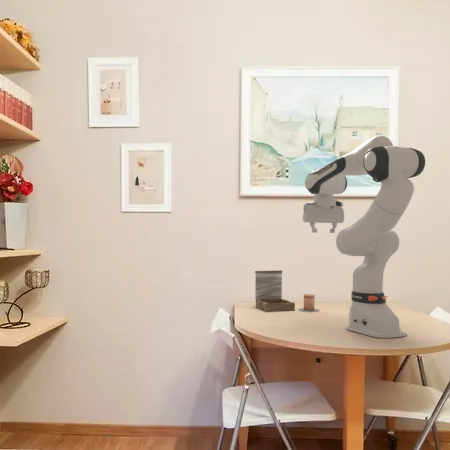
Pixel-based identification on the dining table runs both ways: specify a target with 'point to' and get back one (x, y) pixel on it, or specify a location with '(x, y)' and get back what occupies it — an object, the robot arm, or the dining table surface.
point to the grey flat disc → (308, 311)
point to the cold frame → (271, 292)
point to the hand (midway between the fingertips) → (323, 232)
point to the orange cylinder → (309, 302)
